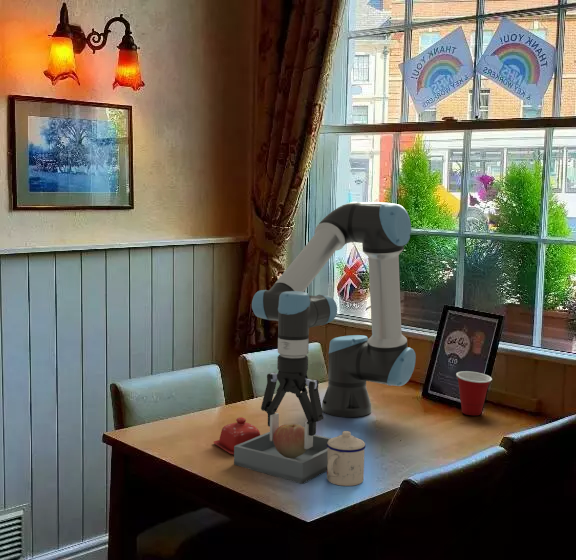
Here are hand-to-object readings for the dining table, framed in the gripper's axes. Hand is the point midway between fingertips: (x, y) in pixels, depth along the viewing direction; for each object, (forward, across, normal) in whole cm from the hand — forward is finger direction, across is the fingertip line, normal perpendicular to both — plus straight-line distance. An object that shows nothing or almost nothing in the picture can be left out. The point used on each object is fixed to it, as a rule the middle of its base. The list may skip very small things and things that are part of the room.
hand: (291, 443), depth 202 cm
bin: (+5, 0, 0) cm, 5 cm away
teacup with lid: (+5, +16, -3) cm, 18 cm away
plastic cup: (+5, +19, +72) cm, 75 cm away
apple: (+3, 0, 0) cm, 3 cm away
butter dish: (+6, -17, +2) cm, 18 cm away
